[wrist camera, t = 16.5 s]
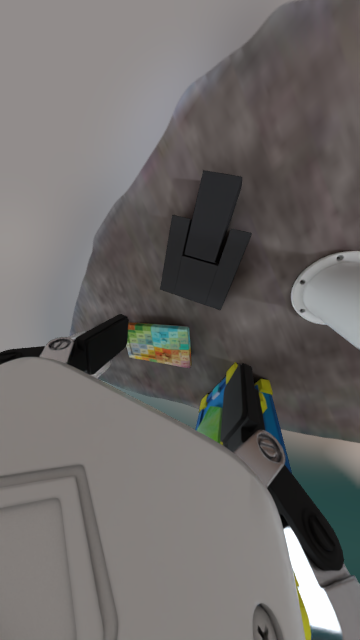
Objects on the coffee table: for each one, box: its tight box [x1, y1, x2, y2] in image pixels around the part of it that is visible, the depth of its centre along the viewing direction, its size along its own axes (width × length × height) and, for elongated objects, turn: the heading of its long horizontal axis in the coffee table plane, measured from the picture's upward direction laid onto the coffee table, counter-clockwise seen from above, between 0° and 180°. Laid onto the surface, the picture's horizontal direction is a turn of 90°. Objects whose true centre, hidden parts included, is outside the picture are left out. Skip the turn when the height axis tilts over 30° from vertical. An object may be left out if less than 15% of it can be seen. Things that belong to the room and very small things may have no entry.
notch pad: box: [160, 215, 252, 310], centre depth 29 cm, size 14×14×4 cm
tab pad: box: [185, 170, 242, 263], centre depth 26 cm, size 12×6×4 cm, turn 166°
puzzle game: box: [126, 323, 192, 368], centre depth 41 cm, size 12×5×20 cm
